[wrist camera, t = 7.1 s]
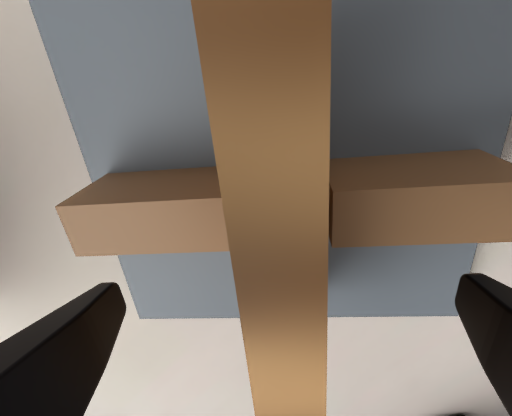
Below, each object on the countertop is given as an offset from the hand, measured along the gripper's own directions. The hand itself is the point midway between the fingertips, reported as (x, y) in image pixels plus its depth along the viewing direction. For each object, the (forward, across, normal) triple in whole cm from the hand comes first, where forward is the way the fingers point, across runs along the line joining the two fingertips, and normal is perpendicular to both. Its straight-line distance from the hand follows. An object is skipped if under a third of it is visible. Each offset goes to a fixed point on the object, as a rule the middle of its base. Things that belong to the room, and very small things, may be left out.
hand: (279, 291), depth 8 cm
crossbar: (+8, 0, 0) cm, 8 cm away
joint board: (+9, 0, 0) cm, 9 cm away
